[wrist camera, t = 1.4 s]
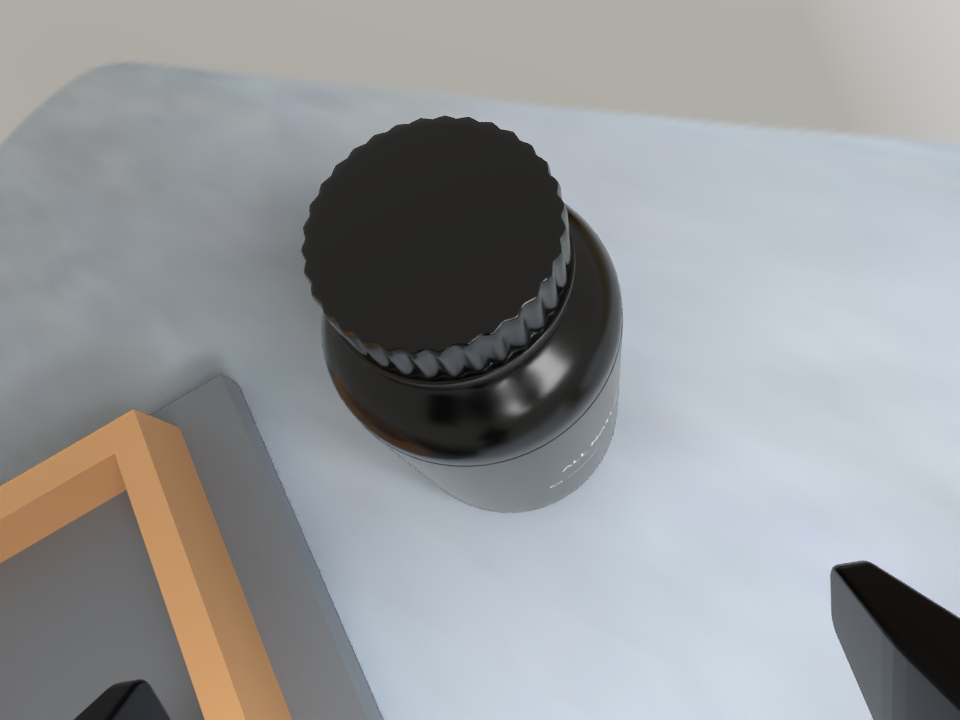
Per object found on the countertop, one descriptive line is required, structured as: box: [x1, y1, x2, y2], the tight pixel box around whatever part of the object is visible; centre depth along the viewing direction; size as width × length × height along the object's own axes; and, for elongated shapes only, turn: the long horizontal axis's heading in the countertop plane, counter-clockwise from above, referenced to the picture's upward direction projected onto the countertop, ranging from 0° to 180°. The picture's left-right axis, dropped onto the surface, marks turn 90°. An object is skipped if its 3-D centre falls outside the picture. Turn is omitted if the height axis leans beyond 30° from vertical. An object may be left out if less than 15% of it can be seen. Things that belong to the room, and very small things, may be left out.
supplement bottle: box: [301, 116, 623, 513], centre depth 18 cm, size 7×7×12 cm
